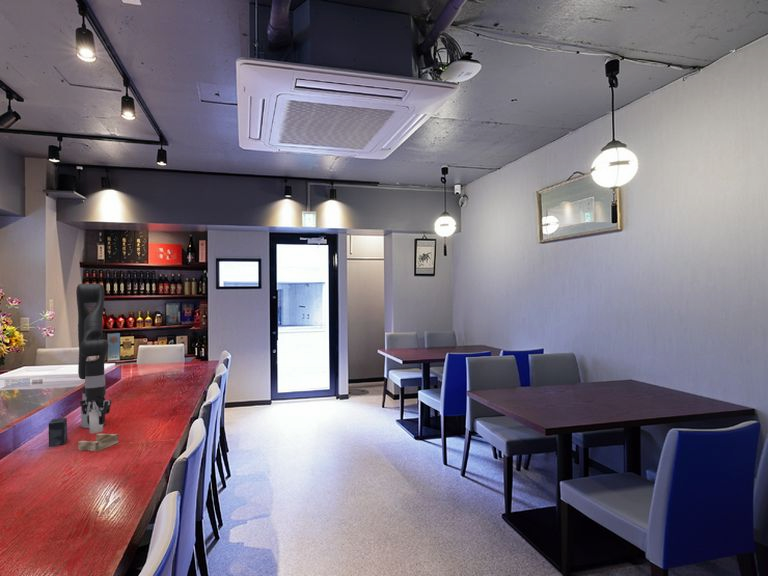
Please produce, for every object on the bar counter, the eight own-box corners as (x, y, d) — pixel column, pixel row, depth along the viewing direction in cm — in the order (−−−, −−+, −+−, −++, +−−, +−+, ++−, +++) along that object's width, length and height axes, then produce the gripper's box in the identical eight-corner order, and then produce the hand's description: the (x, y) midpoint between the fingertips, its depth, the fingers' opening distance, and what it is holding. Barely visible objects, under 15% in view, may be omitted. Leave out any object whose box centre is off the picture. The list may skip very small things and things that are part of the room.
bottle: (86, 433, 194) (85, 401, 194) (96, 429, 199) (95, 398, 199) (96, 433, 193) (95, 401, 193) (105, 429, 198) (105, 398, 198)
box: (64, 445, 198) (63, 421, 198) (48, 447, 196) (47, 423, 196) (67, 439, 205) (67, 416, 205) (52, 441, 203) (52, 418, 203)
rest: (78, 450, 191) (78, 441, 191) (99, 441, 202) (98, 433, 202) (98, 451, 189) (98, 442, 189) (118, 442, 200) (118, 434, 200)
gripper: (73, 387, 193) (74, 426, 193) (102, 387, 191) (103, 427, 191) (88, 383, 201) (89, 421, 201) (116, 383, 198) (117, 421, 198)
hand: (96, 423), depth 196 cm, fingers closed on bottle, 5 cm apart
